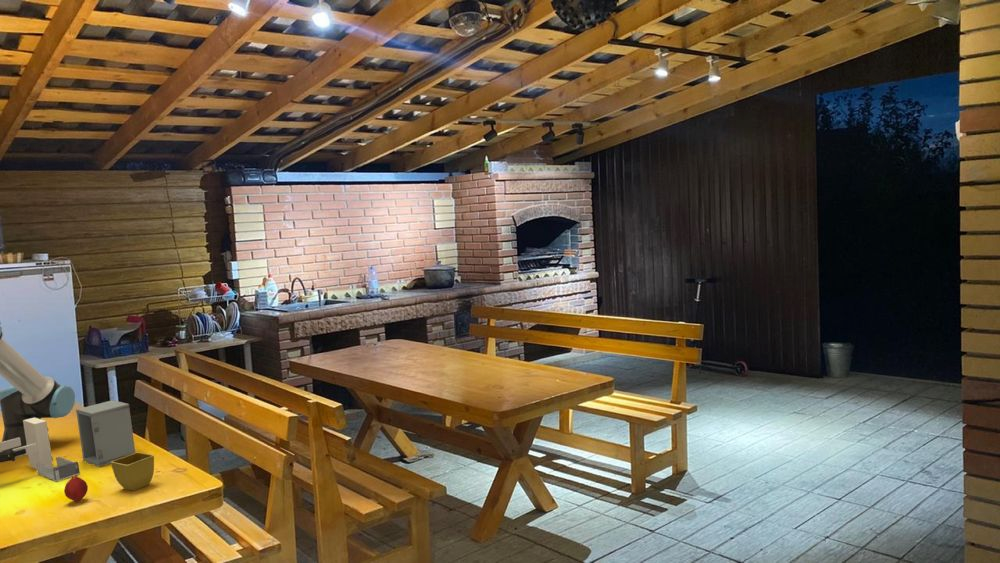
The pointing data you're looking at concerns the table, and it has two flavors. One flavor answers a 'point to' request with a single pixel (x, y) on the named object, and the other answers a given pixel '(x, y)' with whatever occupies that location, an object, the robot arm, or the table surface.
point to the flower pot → (134, 470)
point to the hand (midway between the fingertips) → (28, 444)
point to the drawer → (59, 469)
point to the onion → (75, 488)
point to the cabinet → (105, 432)
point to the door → (38, 441)
